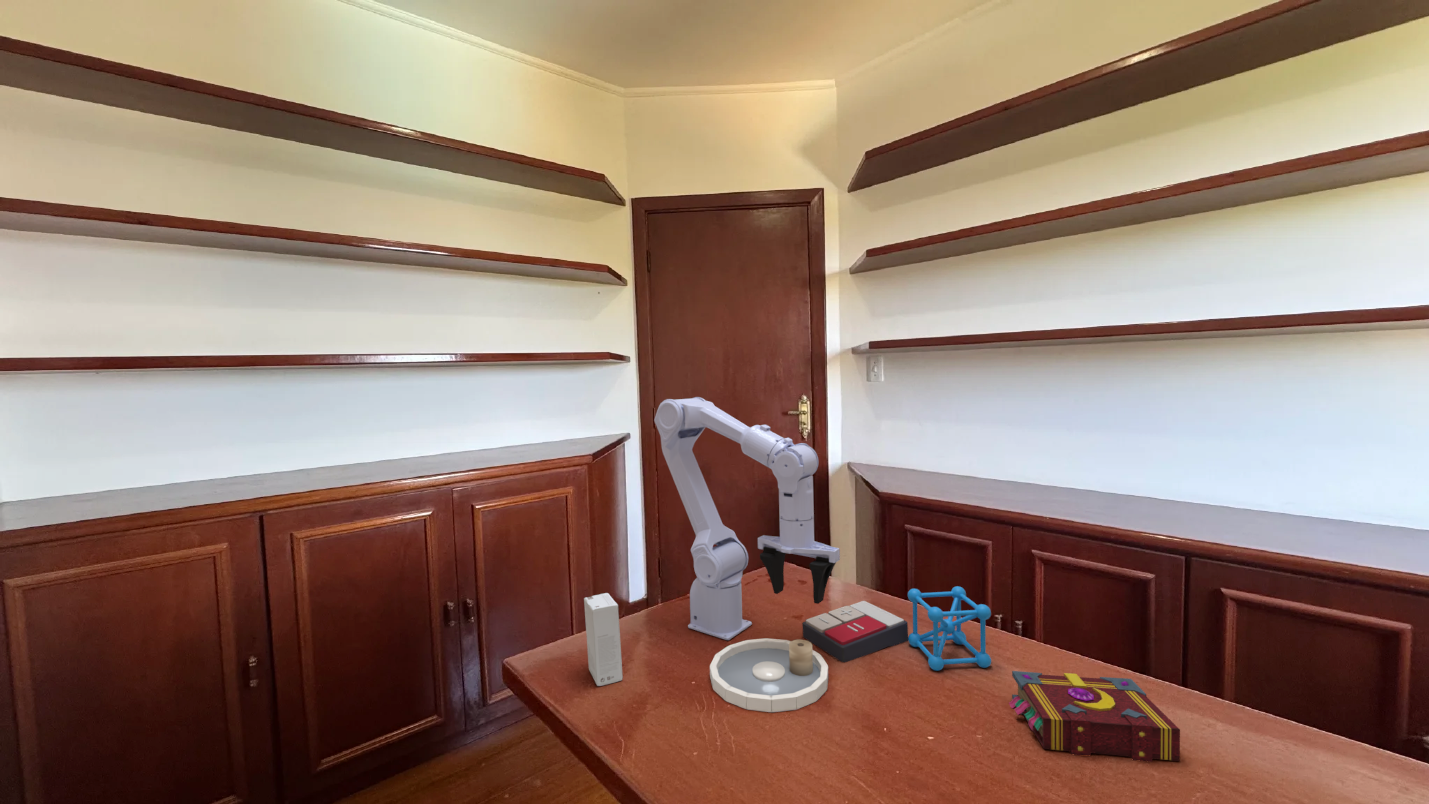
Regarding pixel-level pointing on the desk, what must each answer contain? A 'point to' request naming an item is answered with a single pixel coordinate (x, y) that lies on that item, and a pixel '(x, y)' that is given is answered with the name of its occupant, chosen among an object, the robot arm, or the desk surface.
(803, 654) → the wooden bead
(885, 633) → the calculator
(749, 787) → the desk surface
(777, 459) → the robot arm
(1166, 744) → the decorative book
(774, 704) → the ring tray
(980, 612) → the molecular structure
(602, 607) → the skincare box
